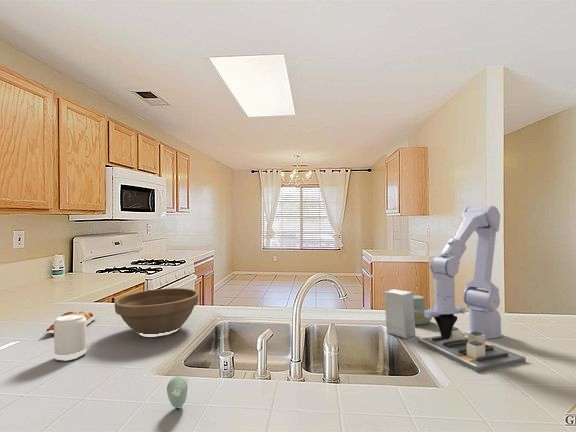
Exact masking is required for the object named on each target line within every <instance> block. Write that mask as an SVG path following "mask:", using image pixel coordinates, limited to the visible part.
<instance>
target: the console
mask: <svg viewBox="0 0 576 432" xmlns="http://www.w3.org/2000/svg"><path fill="white" fill-rule="evenodd" d="M417 343H418V344H419V345H421V346H423V347H426V348H427V349H429V350H431V351H433V352H435V353H437V354H439V355H441V356H444V357H445V358H447V359H449V360H452V361H453V360H454V361H453V362H455V361H456V362H455V363H457V362H458V364H459V363H460V364H459V365H461V364H462V365H461V366H463V365H464V367H465V366H466V367H465V368H467V367H468V368H467V369H469V368H470V369H469V370H471V369H472V370H471V371H473V370H474V371H473V372H475V373H480V371H481V372H484V370H485V371H489V369H490V370H493V368H495V369H498V367H499V368H503V366H504V367H508V365H509V366H513V365H517V363H518V364H521V363H526V360H527V359H526V358H527V357H526V356H524V355H522V354H519V353H516V352H514V351H511V350H509V349H506V348H504V347H501V346H498V345H496V344H493V343H491V342H489V341H487V340H485V356H484V357H479V358H477V360H475V359H473V358H471V357H469V356H467V343H468V334H466V333H464V331H461V340H455V341H448V340H446V339H444V338H442V337H441V334H440V335H435V336H429V337H424V338H423V337H422V338H418V339H417Z"/></svg>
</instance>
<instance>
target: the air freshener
mask: <svg viewBox="0 0 576 432" xmlns="http://www.w3.org/2000/svg"><path fill="white" fill-rule="evenodd" d="M425 300H426V299H425V297H424V296H422V295H417V294H415V295H414V294H413V304H414V319H415V326H422V325H427V324H429V323H430V322H431V320H432V319H433V317H431V318H427V317H424V311H425V310H429V309H428V308H426V307H425V305H426V304H425V303H426V302H425Z"/></svg>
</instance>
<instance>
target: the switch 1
mask: <svg viewBox="0 0 576 432" xmlns="http://www.w3.org/2000/svg"><path fill="white" fill-rule="evenodd" d="M461 332H462V330H461V328H460V329H459V327H455V326H453V328H452V331H451V335H450V338H449V339H446V340H448V341H455V340H461Z"/></svg>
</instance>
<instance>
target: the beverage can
mask: <svg viewBox="0 0 576 432" xmlns="http://www.w3.org/2000/svg"><path fill="white" fill-rule="evenodd" d="M60 316H61V315H60ZM60 316H59V317H57V318H55V319H56V320H55V321H56V322H55V321H54V322H55V324H54V323H53V325H54V334H53V336H54V337H53V338H54V347H53V349H54V352H53V353H55V354H57V355H69V354H74V353H77V352H80V351H82V350H84V349H85V348H86V347H88V345H87V343H88V342H87V339H88V338H87V337H88V334H87V332H88V331H87V329H88V328H87V327H88V325H86V318H85V315H84V314H69V315H64V316H61V317H60Z"/></svg>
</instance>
